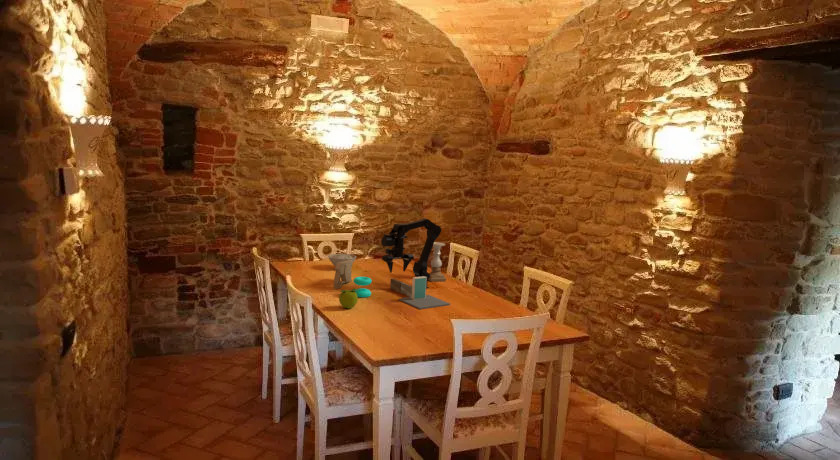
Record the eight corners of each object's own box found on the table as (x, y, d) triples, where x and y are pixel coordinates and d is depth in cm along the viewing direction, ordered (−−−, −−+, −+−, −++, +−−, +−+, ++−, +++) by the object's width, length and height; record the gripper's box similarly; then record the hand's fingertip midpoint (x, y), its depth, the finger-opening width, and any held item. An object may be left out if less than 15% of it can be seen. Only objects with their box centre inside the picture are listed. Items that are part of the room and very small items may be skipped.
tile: (423, 297, 294) (424, 276, 293) (425, 298, 293) (426, 277, 291) (411, 298, 290) (412, 277, 288) (413, 299, 288) (414, 278, 286)
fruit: (358, 310, 266) (359, 290, 265) (340, 310, 264) (340, 291, 262) (355, 305, 275) (356, 286, 274) (337, 305, 272) (338, 286, 271)
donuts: (353, 275, 297) (371, 276, 298) (352, 293, 298) (370, 293, 300) (354, 280, 287) (372, 280, 289) (353, 298, 288) (371, 298, 290)
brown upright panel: (393, 288, 314) (394, 278, 313) (414, 297, 297) (415, 286, 296) (390, 288, 313) (390, 278, 312) (411, 297, 295) (411, 287, 294)
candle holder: (440, 277, 350) (442, 241, 347) (446, 281, 340) (448, 244, 337) (424, 277, 347) (426, 241, 344) (430, 281, 336) (432, 244, 333)
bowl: (328, 265, 368) (328, 251, 366) (356, 266, 370) (356, 252, 369) (326, 271, 349) (327, 256, 347) (356, 272, 351) (356, 257, 350)
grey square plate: (428, 296, 301) (428, 294, 301) (450, 305, 285) (450, 303, 285) (398, 299, 289) (398, 298, 289) (419, 309, 273) (419, 307, 273)
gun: (338, 289, 304) (339, 263, 303) (332, 289, 305) (334, 263, 304) (351, 284, 328) (353, 260, 327) (346, 283, 329) (348, 259, 328)
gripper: (404, 242, 318) (403, 268, 320) (377, 244, 307) (376, 270, 309) (414, 245, 309) (413, 271, 311) (387, 247, 298) (386, 274, 300)
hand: (397, 271), depth 308 cm, fingers open, 9 cm apart
